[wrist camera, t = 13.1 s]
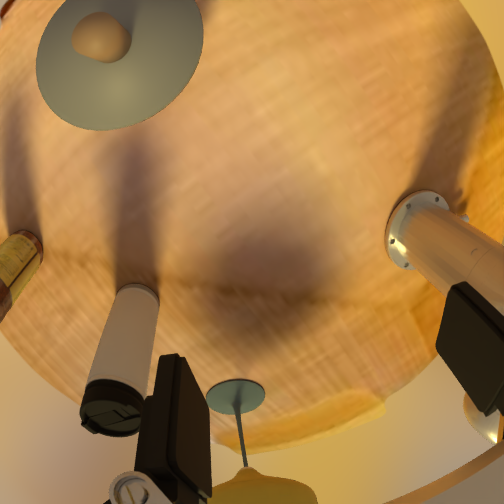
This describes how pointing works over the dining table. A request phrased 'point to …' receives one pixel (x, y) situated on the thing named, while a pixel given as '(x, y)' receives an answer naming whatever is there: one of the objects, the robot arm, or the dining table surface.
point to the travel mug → (122, 365)
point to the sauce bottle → (17, 266)
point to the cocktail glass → (247, 479)
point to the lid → (117, 59)
